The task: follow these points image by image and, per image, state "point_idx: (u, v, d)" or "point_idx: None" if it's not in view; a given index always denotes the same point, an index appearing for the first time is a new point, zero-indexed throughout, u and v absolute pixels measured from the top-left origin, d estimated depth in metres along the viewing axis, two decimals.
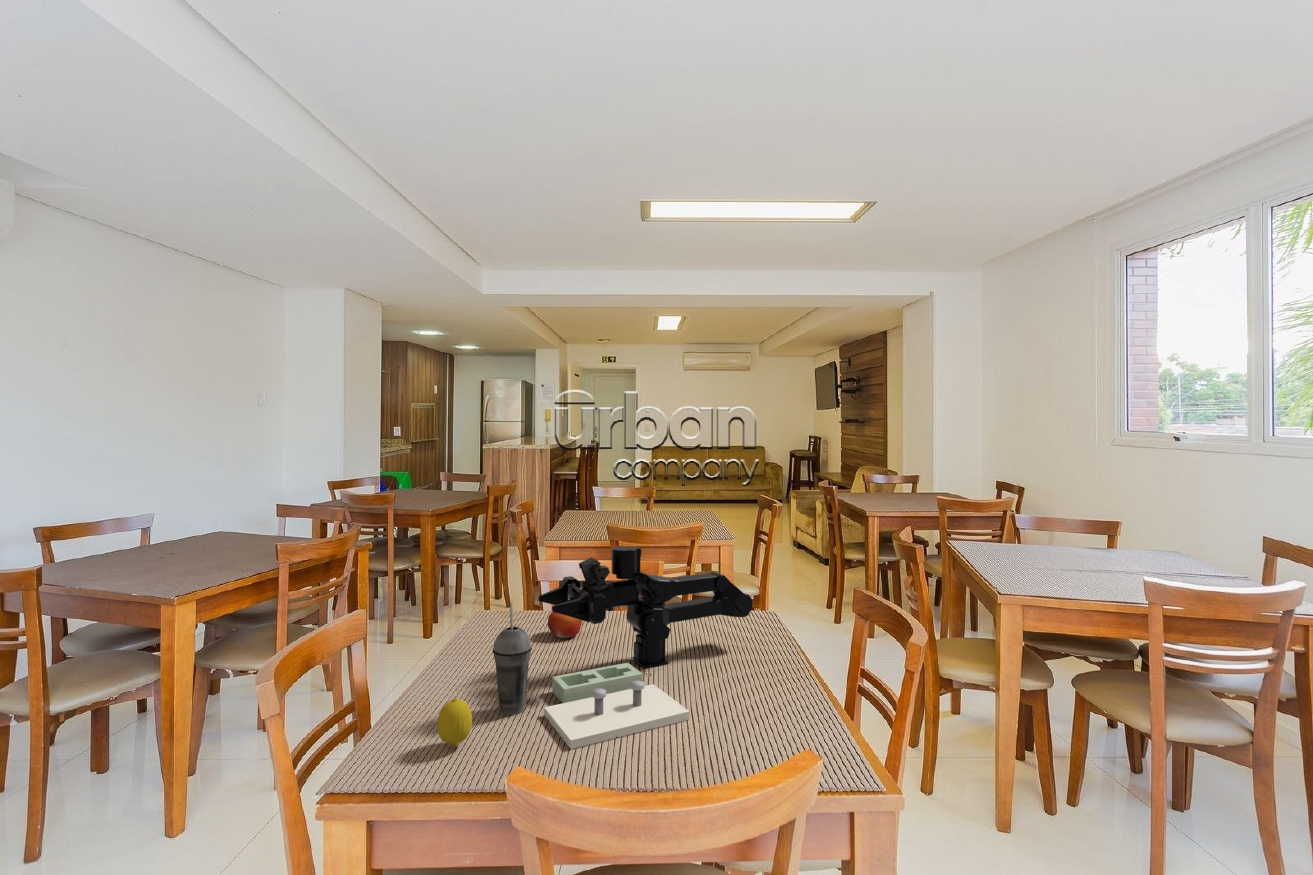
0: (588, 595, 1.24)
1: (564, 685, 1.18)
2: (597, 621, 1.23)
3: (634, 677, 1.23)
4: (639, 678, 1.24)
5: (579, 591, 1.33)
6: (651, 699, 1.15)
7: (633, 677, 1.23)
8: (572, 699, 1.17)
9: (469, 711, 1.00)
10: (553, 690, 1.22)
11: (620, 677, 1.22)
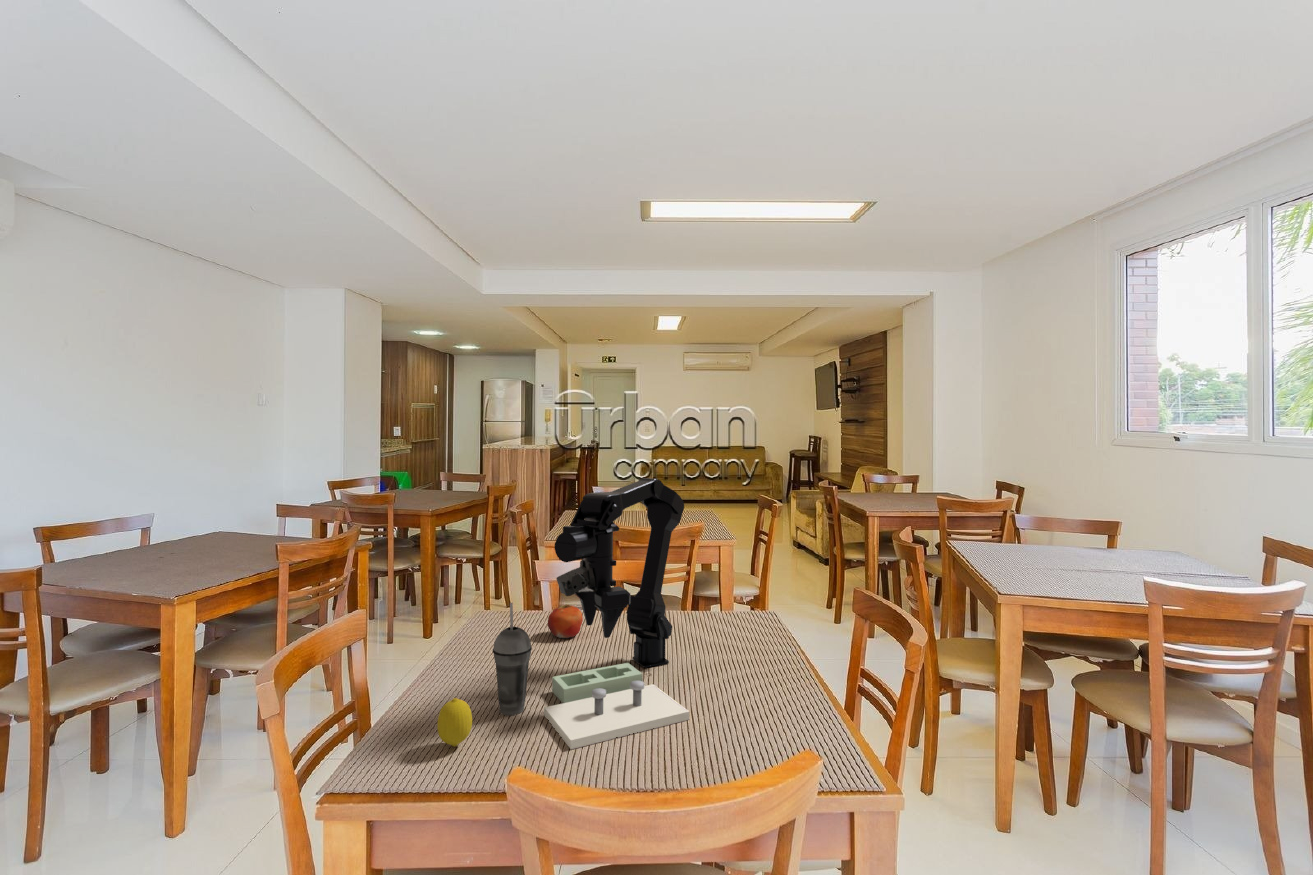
0: (601, 609, 1.15)
1: (564, 685, 1.18)
2: (628, 600, 1.17)
3: (634, 677, 1.23)
4: (639, 678, 1.24)
5: None
6: (651, 699, 1.15)
7: (633, 677, 1.23)
8: (572, 699, 1.17)
9: (469, 711, 1.00)
10: (553, 690, 1.22)
11: (620, 677, 1.22)
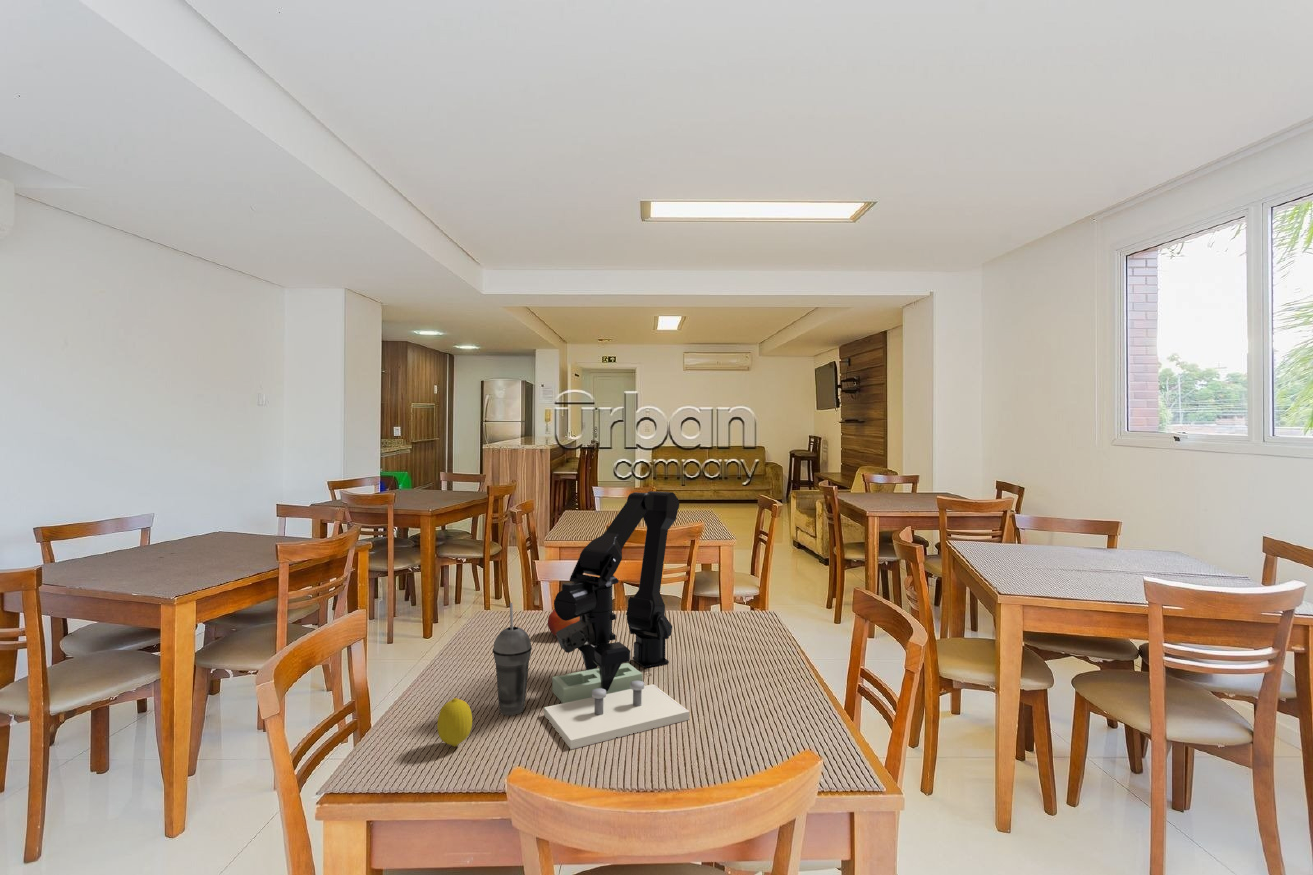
0: (599, 665, 1.16)
1: (564, 685, 1.18)
2: (628, 657, 1.16)
3: (634, 677, 1.23)
4: (639, 678, 1.24)
5: None
6: (651, 699, 1.15)
7: (633, 677, 1.23)
8: (572, 699, 1.17)
9: (469, 711, 1.00)
10: (553, 690, 1.22)
11: (620, 677, 1.22)
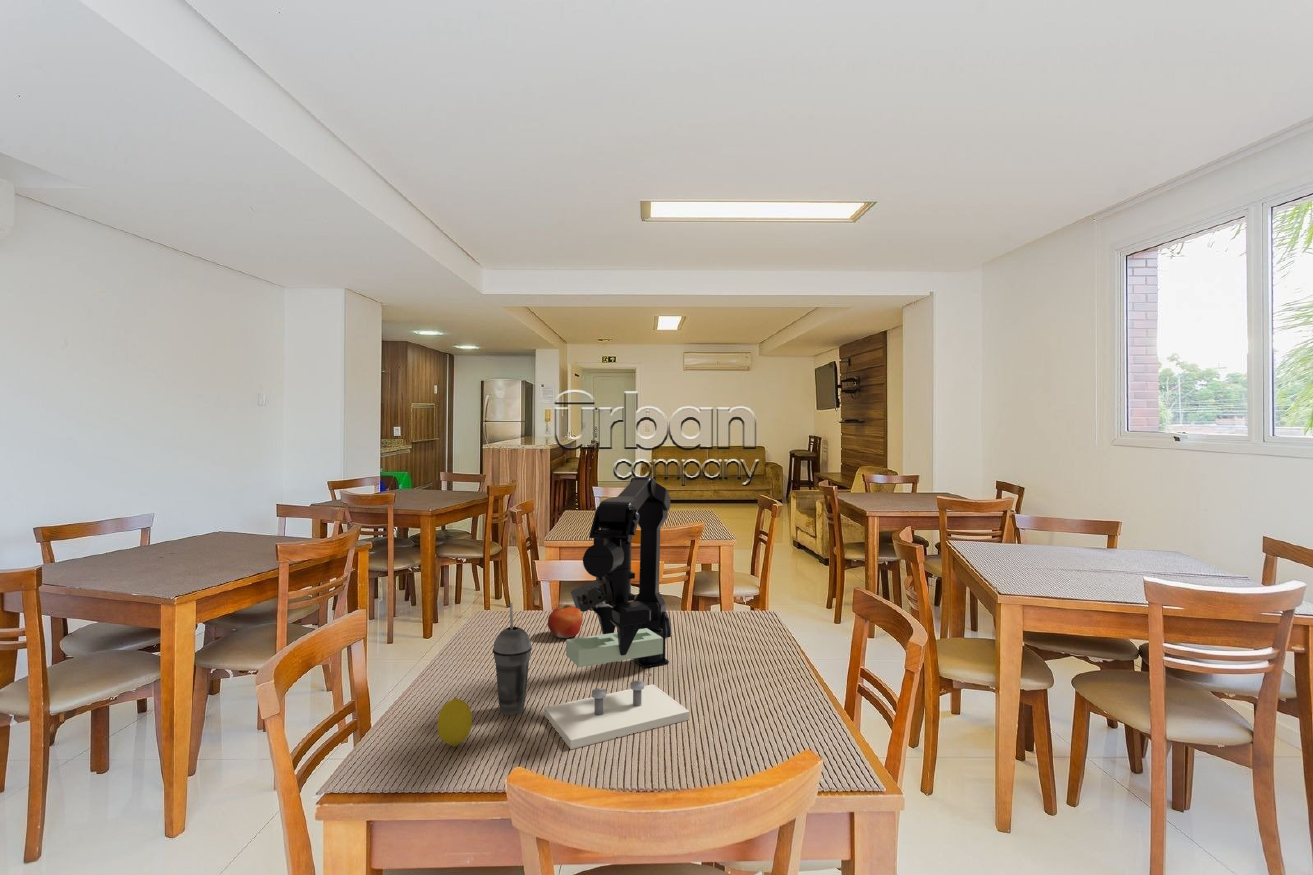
0: (617, 625, 1.07)
1: (579, 646, 1.09)
2: (649, 617, 1.08)
3: (654, 641, 1.14)
4: (659, 642, 1.15)
5: None
6: (651, 699, 1.15)
7: (653, 641, 1.14)
8: (587, 661, 1.08)
9: (469, 711, 1.00)
10: (567, 653, 1.13)
11: (639, 640, 1.13)
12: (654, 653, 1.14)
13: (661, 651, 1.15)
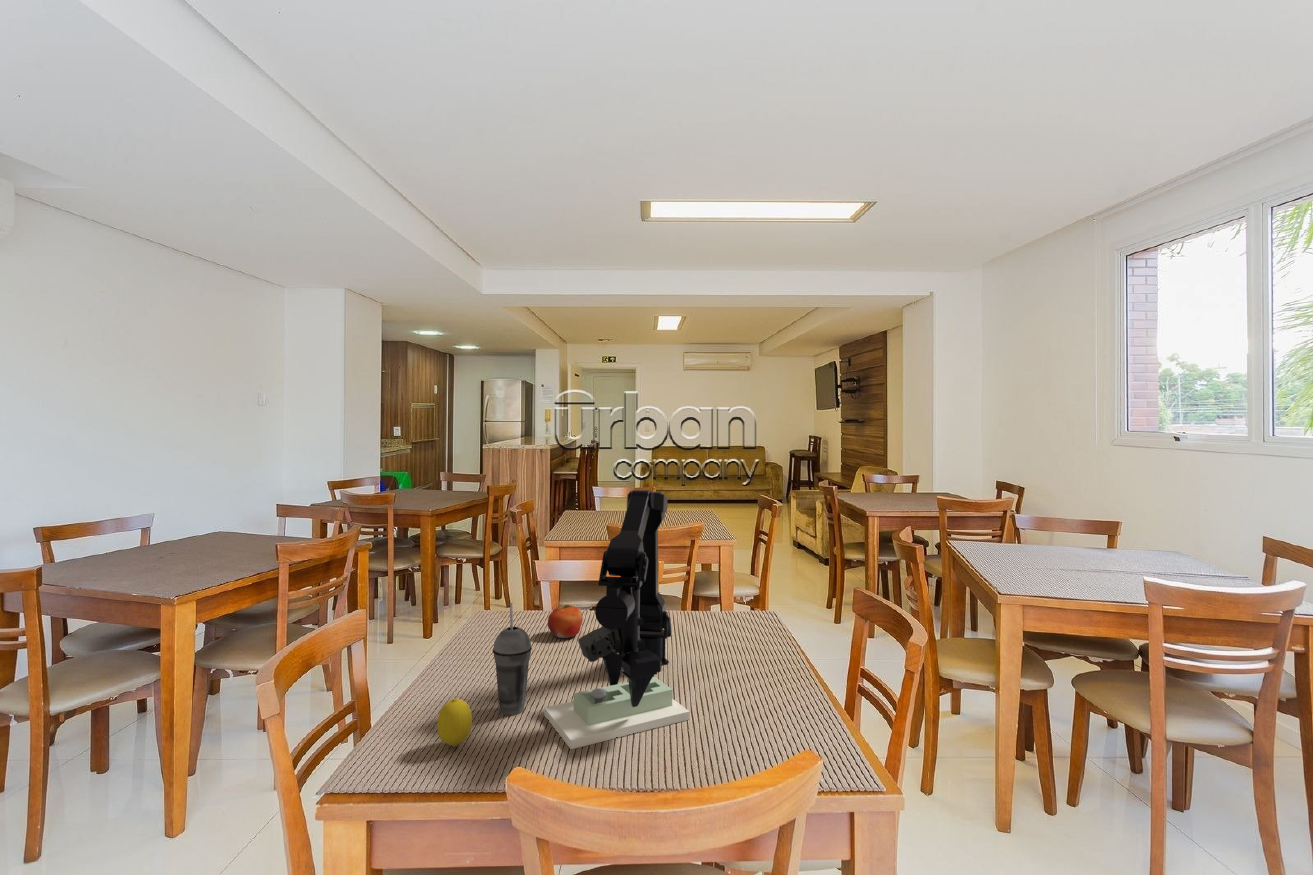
0: (629, 678, 1.04)
1: (588, 703, 1.07)
2: (659, 667, 1.05)
3: (663, 693, 1.12)
4: (669, 694, 1.12)
5: None
6: None
7: (662, 693, 1.12)
8: (596, 719, 1.05)
9: (469, 711, 1.00)
10: (574, 708, 1.10)
11: (648, 694, 1.11)
12: (664, 705, 1.12)
13: (671, 703, 1.13)
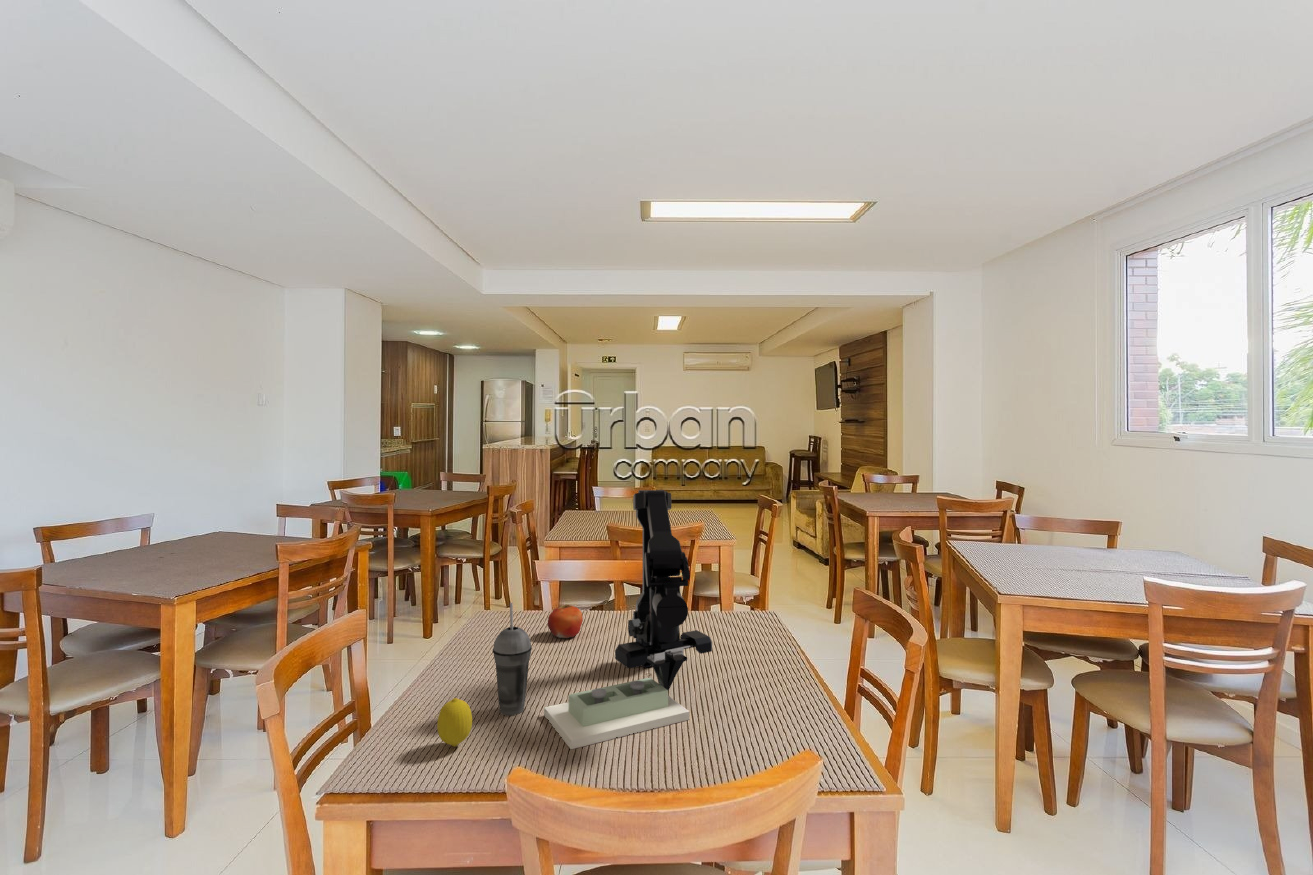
0: None
1: (583, 704, 1.06)
2: (627, 663, 1.09)
3: (659, 694, 1.11)
4: (664, 695, 1.12)
5: None
6: None
7: (658, 694, 1.11)
8: (592, 720, 1.05)
9: (469, 711, 1.00)
10: (569, 709, 1.10)
11: (644, 694, 1.10)
12: (659, 706, 1.11)
13: (666, 704, 1.12)
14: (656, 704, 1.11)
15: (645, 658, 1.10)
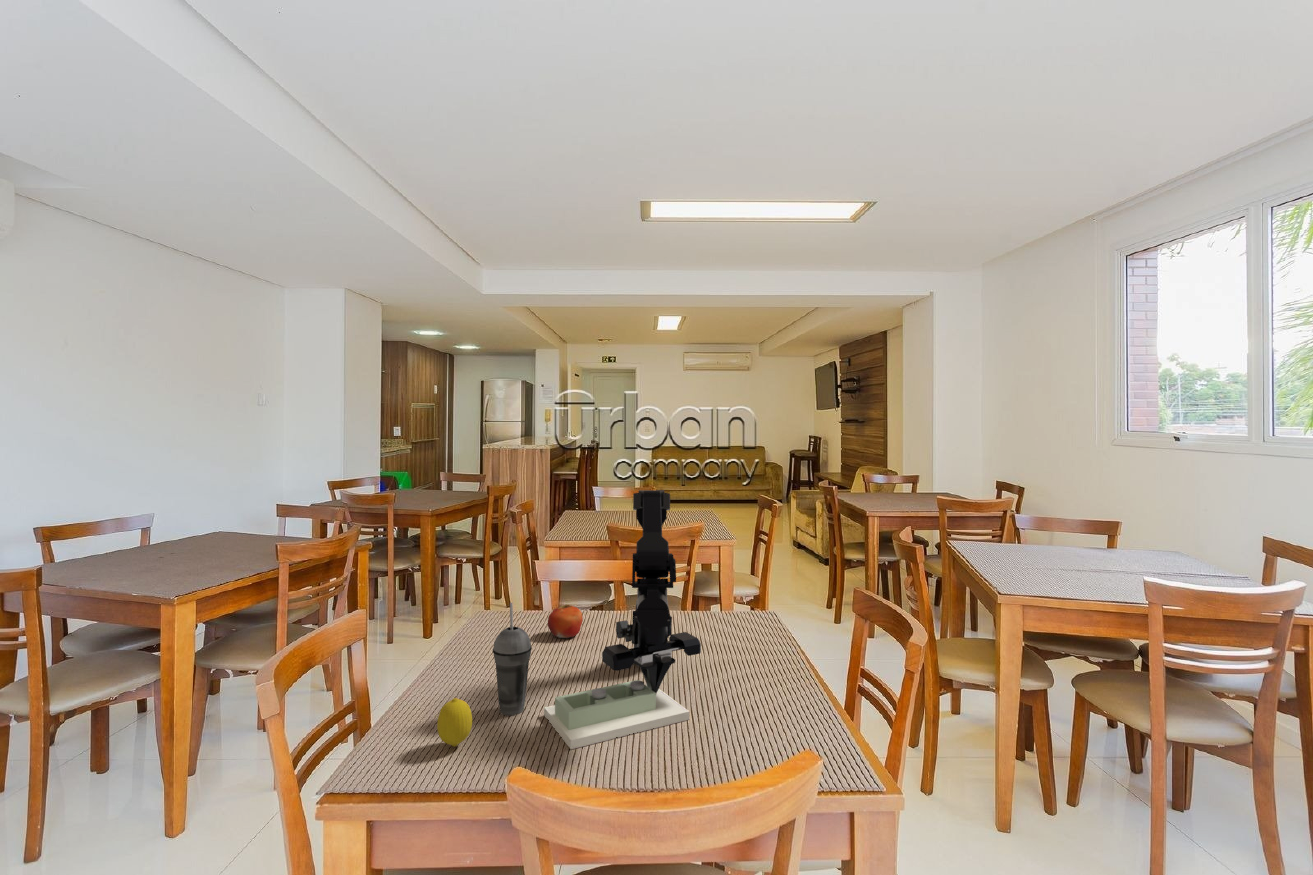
0: None
1: (569, 707, 1.05)
2: (614, 666, 1.08)
3: (646, 697, 1.10)
4: (652, 698, 1.11)
5: None
6: None
7: (645, 697, 1.10)
8: (578, 723, 1.04)
9: (469, 711, 1.00)
10: (556, 712, 1.08)
11: (631, 697, 1.09)
12: (647, 709, 1.10)
13: (654, 707, 1.11)
14: (644, 707, 1.10)
15: (632, 660, 1.09)
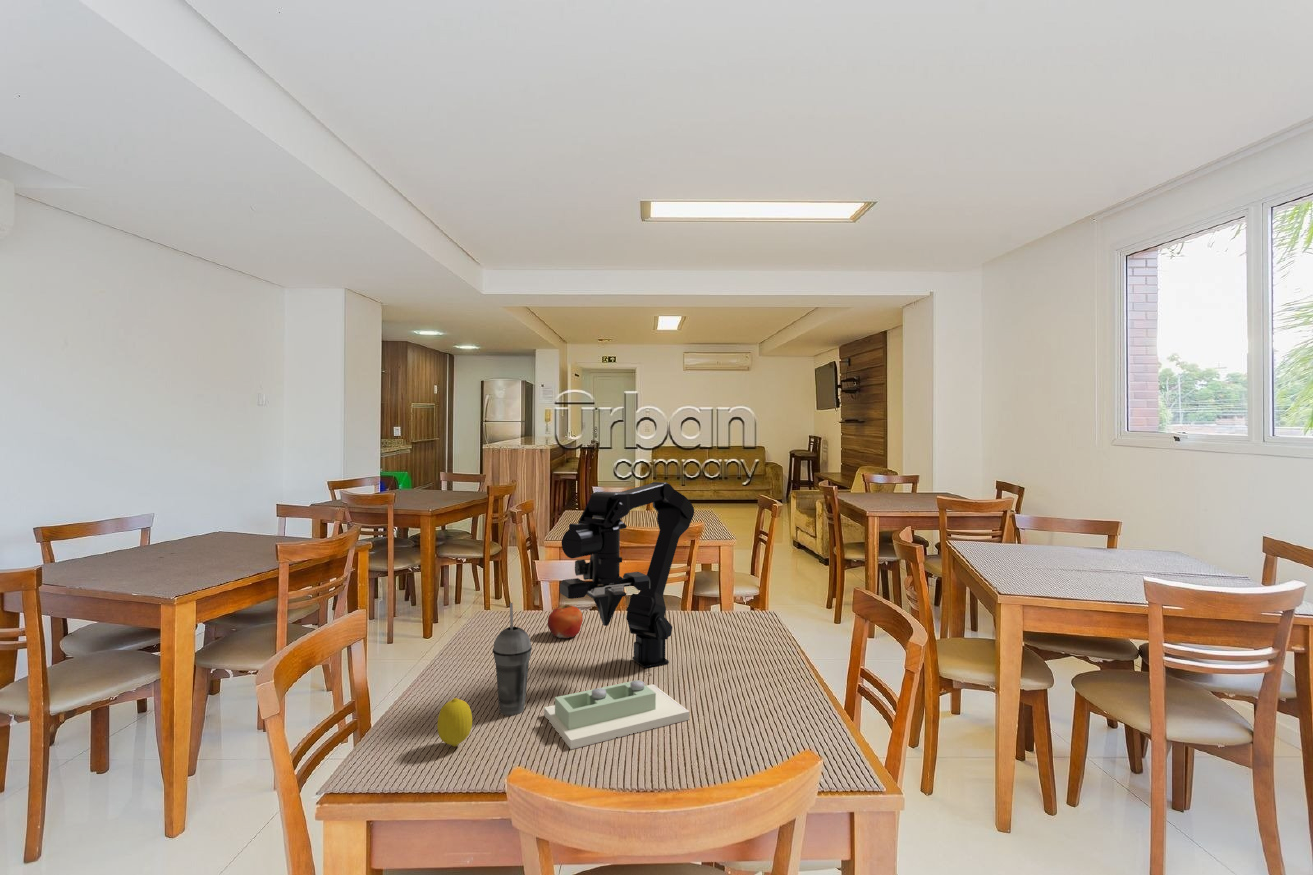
0: None
1: (569, 707, 1.05)
2: (568, 594, 1.21)
3: (646, 697, 1.10)
4: (652, 698, 1.11)
5: None
6: None
7: (645, 697, 1.10)
8: (577, 723, 1.04)
9: (469, 711, 1.00)
10: (556, 712, 1.08)
11: (631, 697, 1.09)
12: (647, 709, 1.10)
13: (654, 707, 1.11)
14: (643, 707, 1.10)
15: (585, 590, 1.22)
